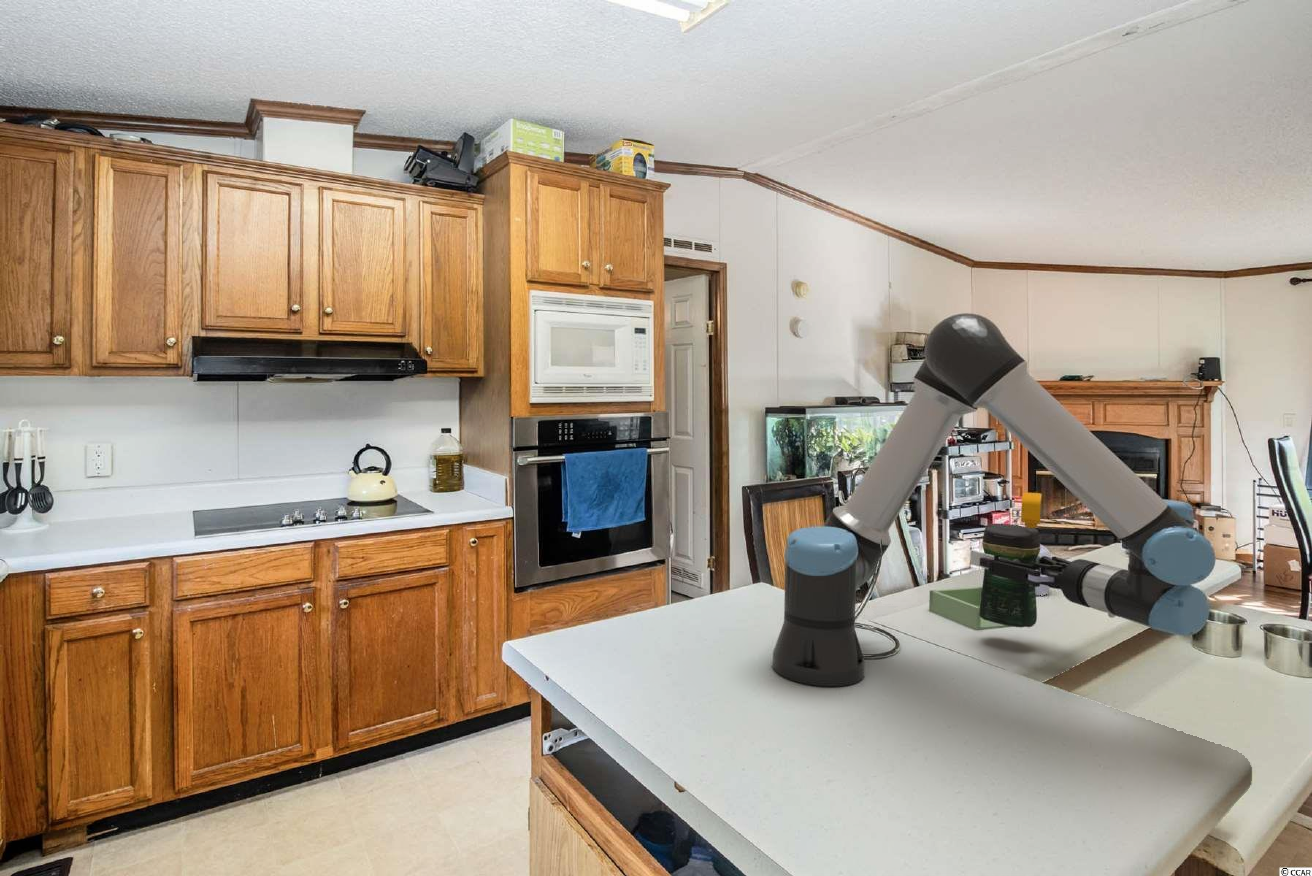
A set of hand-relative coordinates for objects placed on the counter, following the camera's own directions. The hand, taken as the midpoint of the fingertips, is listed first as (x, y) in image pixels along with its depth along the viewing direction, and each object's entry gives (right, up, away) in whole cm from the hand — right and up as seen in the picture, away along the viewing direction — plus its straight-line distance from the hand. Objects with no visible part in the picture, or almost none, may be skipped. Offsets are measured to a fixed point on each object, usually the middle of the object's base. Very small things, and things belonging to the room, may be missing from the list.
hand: (991, 556), depth 135 cm
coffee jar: (+1, -12, -4) cm, 13 cm away
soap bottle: (+27, -15, +36) cm, 48 cm away
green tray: (+4, -16, +13) cm, 21 cm away
